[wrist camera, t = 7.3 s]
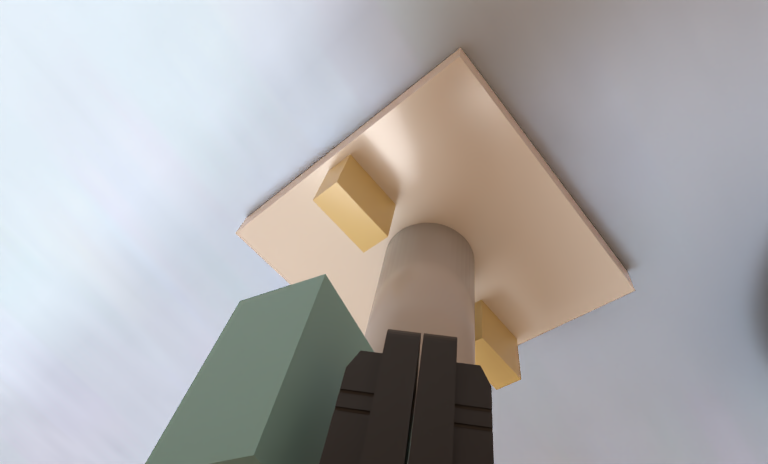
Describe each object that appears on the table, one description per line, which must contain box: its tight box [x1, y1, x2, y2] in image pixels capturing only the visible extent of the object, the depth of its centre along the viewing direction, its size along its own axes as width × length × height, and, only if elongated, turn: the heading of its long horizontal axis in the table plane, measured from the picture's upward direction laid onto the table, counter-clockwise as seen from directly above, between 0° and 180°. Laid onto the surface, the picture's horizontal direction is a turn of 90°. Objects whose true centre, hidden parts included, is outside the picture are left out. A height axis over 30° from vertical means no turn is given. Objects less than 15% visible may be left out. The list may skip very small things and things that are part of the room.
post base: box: [236, 47, 635, 390], centre depth 23 cm, size 14×14×10 cm
